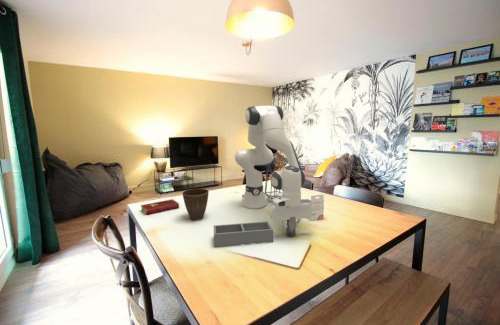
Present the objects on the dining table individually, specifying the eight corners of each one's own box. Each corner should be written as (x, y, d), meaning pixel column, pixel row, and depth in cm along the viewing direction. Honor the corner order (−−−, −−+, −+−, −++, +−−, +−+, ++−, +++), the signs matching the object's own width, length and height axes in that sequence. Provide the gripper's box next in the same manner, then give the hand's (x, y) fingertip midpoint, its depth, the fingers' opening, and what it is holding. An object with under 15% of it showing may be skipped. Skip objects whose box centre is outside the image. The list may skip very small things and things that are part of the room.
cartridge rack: (213, 237, 114) (213, 225, 113) (267, 232, 118) (267, 221, 118) (214, 247, 104) (214, 234, 103) (273, 241, 109) (273, 229, 108)
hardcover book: (179, 209, 156) (178, 203, 155) (146, 216, 143) (145, 209, 142) (172, 204, 165) (172, 198, 165) (141, 211, 152) (140, 204, 152)
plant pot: (203, 223, 130) (202, 196, 128) (178, 222, 133) (177, 194, 130) (213, 214, 144) (212, 189, 142) (190, 212, 147) (189, 188, 145)
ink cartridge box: (318, 216, 140) (319, 192, 138) (323, 219, 135) (324, 194, 133) (305, 217, 138) (306, 193, 136) (310, 221, 133) (311, 195, 131)
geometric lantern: (261, 198, 176) (261, 152, 171) (279, 196, 182) (280, 151, 178) (271, 204, 161) (272, 154, 157) (290, 202, 168) (292, 153, 164)
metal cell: (285, 233, 117) (285, 213, 115) (293, 232, 118) (294, 212, 116) (288, 237, 113) (288, 216, 111) (296, 236, 113) (297, 215, 112)
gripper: (309, 197, 118) (308, 223, 120) (269, 199, 114) (269, 226, 116) (314, 200, 111) (313, 228, 113) (273, 203, 108) (272, 231, 110)
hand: (291, 227), depth 115 cm, fingers closed on metal cell, 4 cm apart
